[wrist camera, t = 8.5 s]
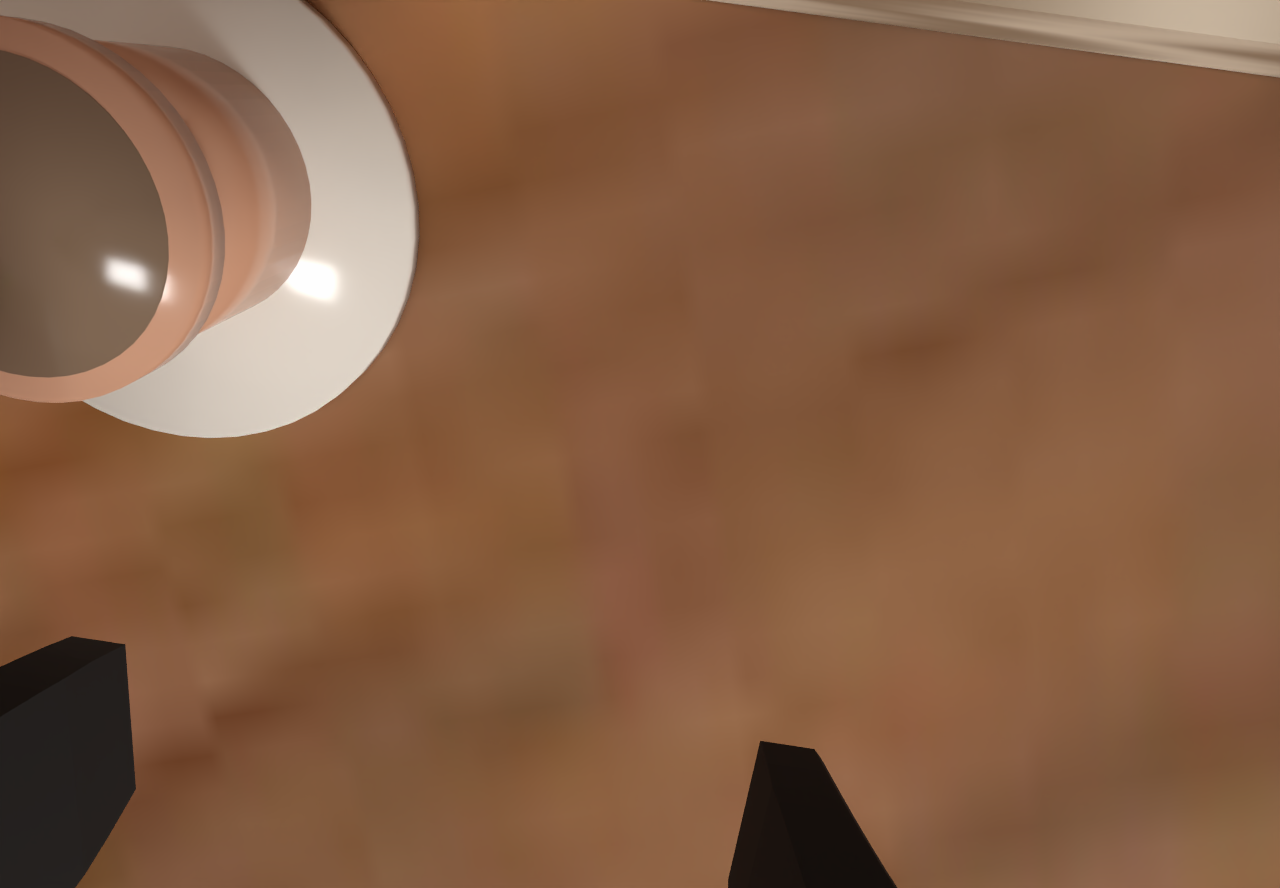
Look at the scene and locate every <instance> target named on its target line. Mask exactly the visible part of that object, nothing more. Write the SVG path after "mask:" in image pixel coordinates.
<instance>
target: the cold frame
mask: <svg viewBox="0 0 1280 888" xmlns="http://www.w3.org/2000/svg"><path fill="white" fill-rule="evenodd" d="M711 1H718V2H725V3H733V4H740V5H748V6H755V7H762V8H770V9H777V10H785V11H792V12H799V13H807V14H814V15H822V16H829V17H836V18H844V19H851V20H859V21H866V22H873V23H881V24H888V25H896V26H903V27H910V28H918V29H925V30H933V31H940V32H947V33H955V34H962V35H970V36H977V37H984V38H992V39H999V40H1007V41H1014V42H1022V43H1029V44H1036V45H1044V46H1051V47H1059V48H1066V49H1073V50H1081V51H1088V52H1096V53H1103V54H1110V55H1118V56H1125V57H1133V58H1140V59H1147V60H1155V61H1162V62H1170V63H1177V64H1184V65H1192V66H1199V67H1207V68H1214V69H1221V70H1229V71H1236V72H1244V73H1251V74H1258V75H1266V76H1273V77H1280V0H711Z"/></svg>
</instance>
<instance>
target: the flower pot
mask: <svg viewBox="0 0 1280 888" xmlns="http://www.w3.org/2000/svg"><path fill="white" fill-rule="evenodd" d="M310 221H311V192H310V183H309V179H308V174H307V170H306V165H305V163H304V160H303V157H302V154H301V151H300V148H299V146H298V144H297V142H296V140H295V138H294V136H293V134H292V132H291V130H290V128H289V127H288V125H287V124H286V122H285V120H284V119H283V117H282V116H281V114H280V113H279V112H278V110H277V109H276V108H275V107H274V105H273V104H272V103H271V102H270V100H269V99H268V98H267V97H266V96H265V95H264V94H263V93H262V92H261V91H260V90H259V89H258V88H257V87H256V86H255V85H254V84H252V83H251V82H250V81H249V80H247V79H246V78H245V77H244V76H242V75H241V74H240V73H238V72H237V71H235V70H233V69H232V68H230V67H229V66H227V65H225V64H224V63H222V62H220V61H218V60H215V59H213V58H211V57H209V56H207V55H204V54H201V53H198V52H194V51H191V50H188V49H183V48H177V47H171V46H161V45H149V44H137V43H125V42H114V41H102V40H92V39H90V38H88V37H86V36H83V35H81V34H79V33H77V32H75V31H72V30H70V29H67V28H64V27H60V26H57V25H54V24H51V23H47V22H44V21H38V20H32V19H26V18H20V17H11V16H1V15H0V394H1V395H4V396H8V397H11V398H16V399H22V400H28V401H34V402H51V403H63V402H74V401H82V400H87V399H91V398H95V397H100V396H103V395H106V394H108V393H111V392H113V391H116V390H118V389H121V388H123V387H125V386H127V385H129V384H130V383H132V382H134V381H136V380H138V379H140V378H142V377H144V376H146V375H148V374H150V373H151V372H153V371H155V370H157V369H158V368H160V367H162V366H163V365H165V364H167V363H168V362H170V361H171V360H172V359H173V358H175V357H176V356H177V355H178V354H179V353H181V352H182V351H183V350H184V349H185V348H186V347H187V346H188V345H189V344H190V342H191V341H192V340H193V339H194V338H195V337H196V336H197V334H199V333H201V332H203V331H205V330H207V329H209V328H211V327H213V326H215V325H217V324H219V323H221V322H223V321H225V320H227V319H229V318H232V317H234V316H236V315H238V314H240V313H242V312H244V311H246V310H248V309H250V308H252V307H254V306H255V305H257V304H259V303H260V302H262V301H264V300H266V299H267V298H268V297H269V296H271V295H272V294H273V293H274V292H276V291H277V290H278V289H279V288H280V287H281V286H282V285H283V283H284V282H285V281H286V280H287V279H288V278H289V276H290V275H291V273H292V272H293V270H294V269H295V267H296V266H297V264H298V262H299V260H300V257H301V255H302V253H303V251H304V248H305V244H306V241H307V238H308V234H309V228H310Z"/></svg>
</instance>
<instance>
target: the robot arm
mask: <svg viewBox="0 0 1280 888" xmlns="http://www.w3.org/2000/svg"><path fill="white" fill-rule="evenodd" d="M135 789H136V785H135V772H134V758H133V745H132V731H131V718H130V704H129V690H128V677H127V663H126V650H125V644H119V643H112V642H106V641H99V640H92V639H86V638H79V637H73V636H71V637H69V638H66V639H64V640H61V641H59V642H56V643H54V644H51V645H49V646H46V647H44V648H42V649H39V650H37V651H35V652H32V653H30V654H28V655H26V656H23V657H21V658H19V659H17V660H15V661H12V662H10V663H8V664H6V665H4V666H1V667H0V888H75V887H76V886H77V884H78V883H79V881H80V880H81V879H82V877H83V876H84V875H85V873H86V872H87V870H88V868H89V867H90V865H91V864H92V862H93V860H94V859H95V857H96V856H97V854H98V852H99V851H100V849H101V847H102V846H103V844H104V843H105V841H106V839H107V838H108V836H109V834H110V833H111V831H112V829H113V828H114V826H115V824H116V822H117V821H118V819H119V817H120V815H121V814H122V812H123V810H124V808H125V807H126V805H127V803H128V801H129V800H130V798H131V796H132V795H133V793H134V791H135ZM728 888H897V887H896V885H895V884H894V882H893V880H892V879H891V877H890V876H889V874H888V873H887V871H886V870H885V868H884V866H883V865H882V863H881V861H880V860H879V858H878V857H877V855H876V853H875V852H874V850H873V848H872V847H871V845H870V843H869V842H868V840H867V838H866V837H865V835H864V833H863V831H862V830H861V828H860V826H859V825H858V823H857V821H856V820H855V818H854V816H853V814H852V813H851V811H850V809H849V807H848V806H847V804H846V802H845V800H844V799H843V797H842V795H841V793H840V792H839V790H838V788H837V786H836V784H835V783H834V781H833V779H832V777H831V775H830V774H829V772H828V770H827V768H826V766H825V765H824V763H823V761H822V759H821V758H820V756H819V755H818V754H817V752H816V751H815V749H810V748H803V747H797V746H790V745H784V744H777V743H770V742H764V741H760V745H759V749H758V753H757V758H756V762H755V766H754V771H753V775H752V779H751V783H750V788H749V792H748V796H747V801H746V805H745V809H744V814H743V818H742V822H741V827H740V831H739V835H738V840H737V844H736V848H735V853H734V857H733V861H732V866H731V870H730V874H729V879H728Z"/></svg>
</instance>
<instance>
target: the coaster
mask: <svg viewBox="0 0 1280 888" xmlns="http://www.w3.org/2000/svg"><path fill="white" fill-rule="evenodd" d="M0 15H1V16H11V17H20V18H26V19H32V20H38V21H44V22H47V23H51V24H54V25H57V26H60V27H64V28H67V29H70V30H72V31H75V32H77V33H79V34H81V35H83V36H86V37H88V38H90V39H92V40H102V41H114V42H125V43H137V44H149V45H161V46H171V47H177V48H183V49H188V50H191V51H194V52H198V53H201V54H204V55H207V56H209V57H211V58H213V59H215V60H218V61H220V62H222V63H224V64H225V65H227V66H229V67H230V68H232V69H233V70H235V71H237V72H238V73H240V74H241V75H242V76H244V77H245V78H246V79H247V80H249V81H250V82H251V83H252V84H254V85H255V86H256V87H257V88H258V89H259V90H260V91H261V92H262V93H263V94H264V95H265V96H266V97H267V98H268V99H269V100H270V102H271V103H272V104H273V105H274V107H275V108H276V109H277V110H278V112H279V113H280V114H281V116H282V117H283V119H284V120H285V122H286V124H287V125H288V127H289V128H290V130H291V132H292V134H293V136H294V138H295V140H296V142H297V144H298V146H299V148H300V151H301V154H302V157H303V160H304V163H305V165H306V170H307V174H308V179H309V183H310V192H311V221H310V228H309V234H308V238H307V241H306V244H305V248H304V251H303V253H302V255H301V257H300V260H299V262H298V264H297V266H296V267H295V269H294V270H293V272H292V273H291V275H290V276H289V278H288V279H287V280H286V281H285V282H284V283H283V285H282V286H281V287H280V288H279V289H278V290H277V291H276V292H274V293H273V294H272V295H271V296H269V297H268V298H267V299H266V300H264V301H262V302H260V303H259V304H257V305H255V306H254V307H252V308H250V309H248V310H246V311H244V312H242V313H240V314H238V315H236V316H234V317H232V318H229V319H227V320H225V321H223V322H221V323H219V324H217V325H215V326H213V327H211V328H209V329H207V330H205V331H203V332H201V333H199V334H197V336H196V337H195V338H194V339H193V340H192V341H191V342H190V344H189V345H188V346H187V347H186V348H185V349H184V350H183V351H182V352H181V353H179V354H178V355H177V356H176V357H175V358H173V359H172V360H171V361H170V362H168V363H167V364H165V365H163V366H162V367H160V368H158V369H157V370H155V371H153V372H151V373H150V374H148V375H146V376H144V377H142V378H140V379H138V380H136V381H134V382H132V383H130V384H129V385H127V386H125V387H123V388H121V389H118V390H116V391H113V392H111V393H108V394H106V395H103V396H100V397H95V398H91V399H87V400H82V401H84V402H86V403H87V404H89V405H91V406H92V407H94V408H96V409H98V410H100V411H103V412H105V413H107V414H109V415H112V416H114V417H116V418H118V419H121V420H123V421H126V422H129V423H132V424H135V425H138V426H141V427H145V428H148V429H151V430H155V431H160V432H165V433H170V434H175V435H180V436H191V437H205V438H219V437H238V436H244V435H249V434H255V433H260V432H266V431H269V430H272V429H275V428H278V427H281V426H284V425H287V424H290V423H293V422H295V421H297V420H299V419H301V418H303V417H305V416H307V415H309V414H311V413H313V412H315V411H317V410H318V409H319V408H321V407H322V406H324V405H325V404H327V403H328V402H330V401H331V400H332V399H334V398H335V397H337V396H338V395H339V394H341V393H342V392H343V391H344V390H345V389H346V388H347V387H349V386H350V385H351V384H352V383H353V382H354V381H355V380H356V379H357V378H358V377H359V376H360V375H361V374H362V373H363V372H365V371H366V370H367V369H368V368H369V366H370V365H371V364H372V363H373V361H374V360H375V359H376V358H377V356H378V355H379V354H380V352H381V351H382V350H383V349H384V347H385V346H386V344H387V342H388V341H389V339H390V337H391V335H392V334H393V332H394V330H395V328H396V327H397V325H398V323H399V321H400V318H401V316H402V313H403V311H404V308H405V306H406V303H407V301H408V298H409V295H410V291H411V287H412V283H413V279H414V275H415V271H416V265H417V256H418V246H419V205H418V198H417V191H416V185H415V178H414V172H413V169H412V165H411V161H410V158H409V154H408V151H407V147H406V143H405V140H404V138H403V135H402V133H401V130H400V128H399V125H398V123H397V121H396V118H395V116H394V113H393V111H392V108H391V107H390V105H389V103H388V101H387V99H386V97H385V96H384V94H383V92H382V90H381V88H380V87H379V85H378V83H377V81H376V79H375V78H374V76H373V75H372V73H371V72H370V70H369V69H368V68H367V66H366V65H365V63H364V62H363V61H362V59H361V58H360V57H359V55H358V54H357V52H356V51H355V50H354V48H353V47H352V46H351V45H350V44H349V42H348V41H347V40H346V39H345V38H344V37H343V36H342V35H341V34H340V33H339V31H338V30H337V29H336V28H335V27H334V26H333V25H332V24H331V23H330V22H329V20H327V19H326V18H325V17H324V16H323V15H322V14H321V13H319V12H318V11H317V10H316V9H315V8H314V7H313V6H311V5H310V4H309V3H308V2H307V1H306V0H0Z"/></svg>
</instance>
